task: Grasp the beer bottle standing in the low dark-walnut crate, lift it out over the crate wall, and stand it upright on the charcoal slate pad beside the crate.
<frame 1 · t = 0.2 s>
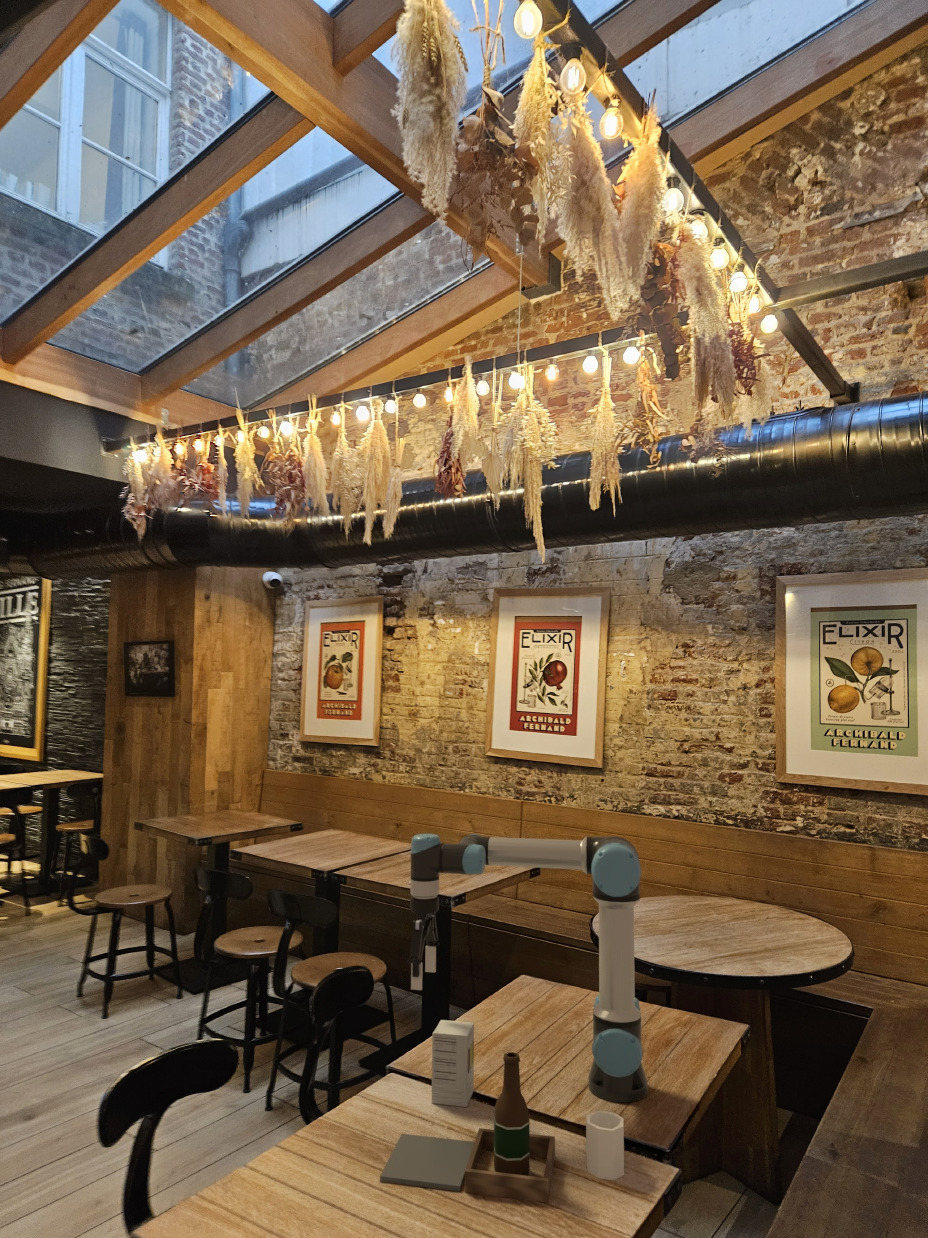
hand: (423, 980, 207), 28 cm above the table, fingers open, 13 cm apart
beer bottle: (511, 1174, 171), resting in walnut crate
supplement box: (452, 1098, 204), on the table
slate pad: (429, 1163, 174), on the table
mug: (608, 1165, 174), on the table
walnut crate: (511, 1173, 171), on the table
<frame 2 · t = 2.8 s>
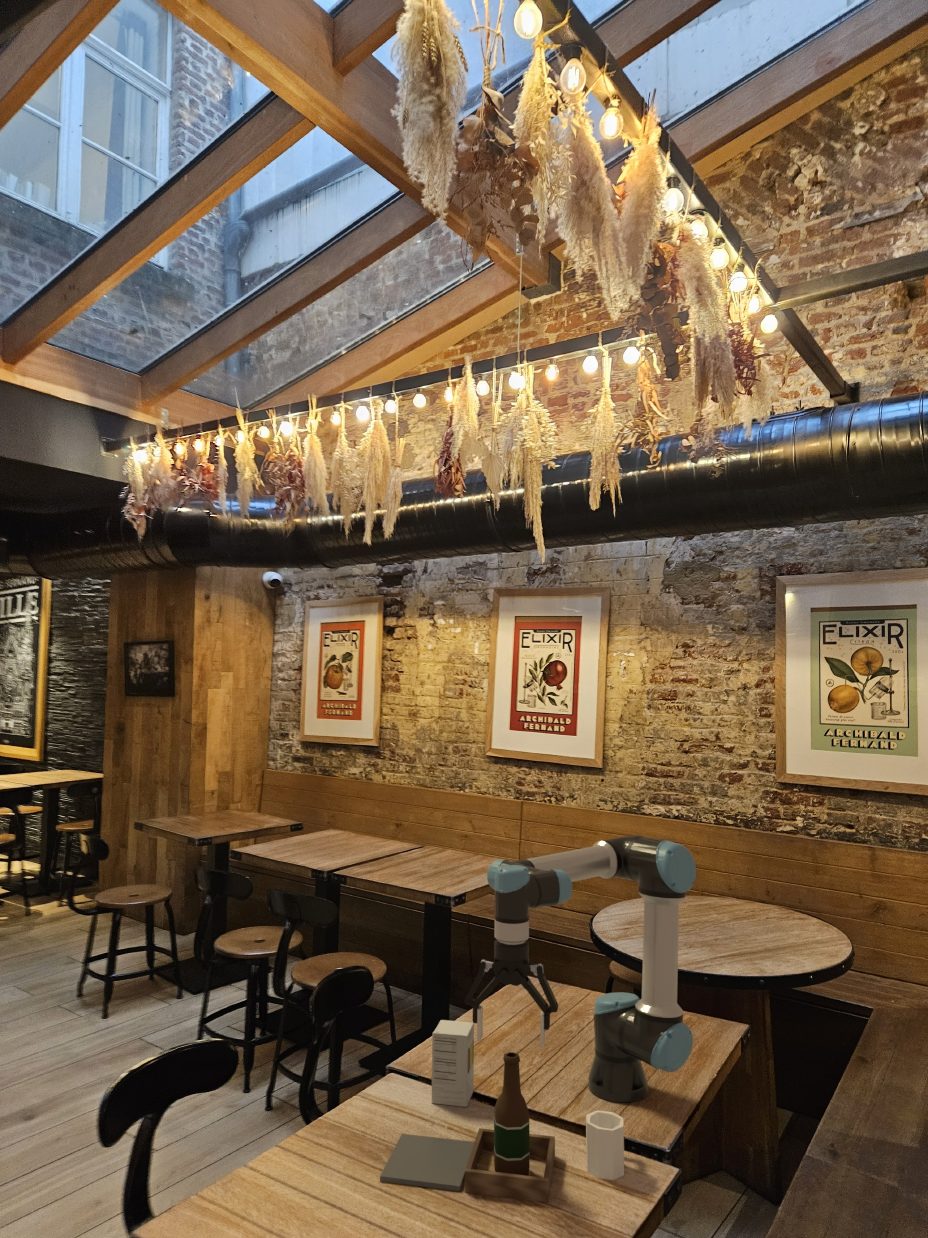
hand: (510, 1042, 173), 27 cm above the table, fingers open, 13 cm apart
nothing on the table moved.
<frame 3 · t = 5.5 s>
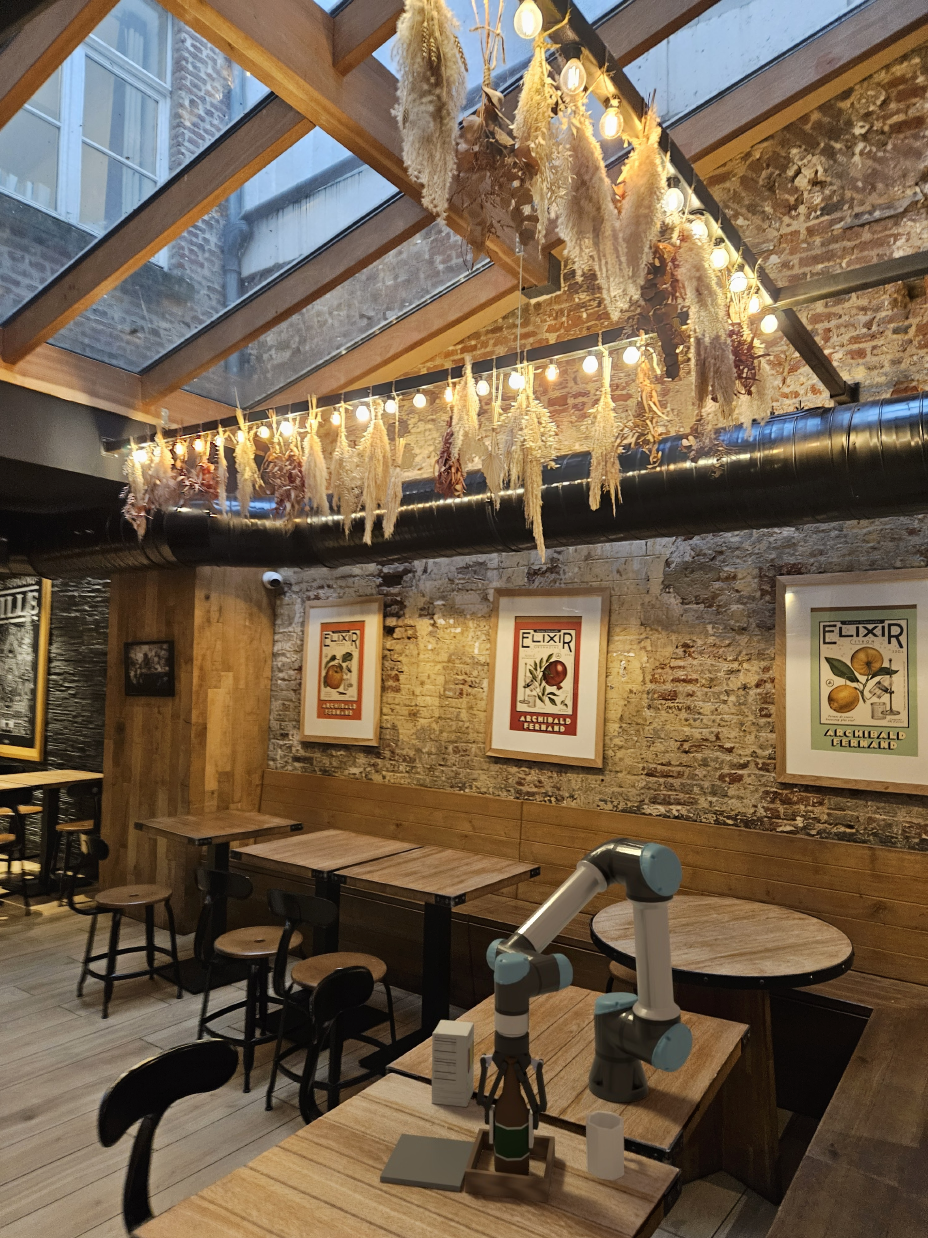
hand: (511, 1142, 171), 6 cm above the table, fingers closed on beer bottle, 8 cm apart
beer bottle: (511, 1174, 171), resting in walnut crate, touching gripper
everything else where it was.
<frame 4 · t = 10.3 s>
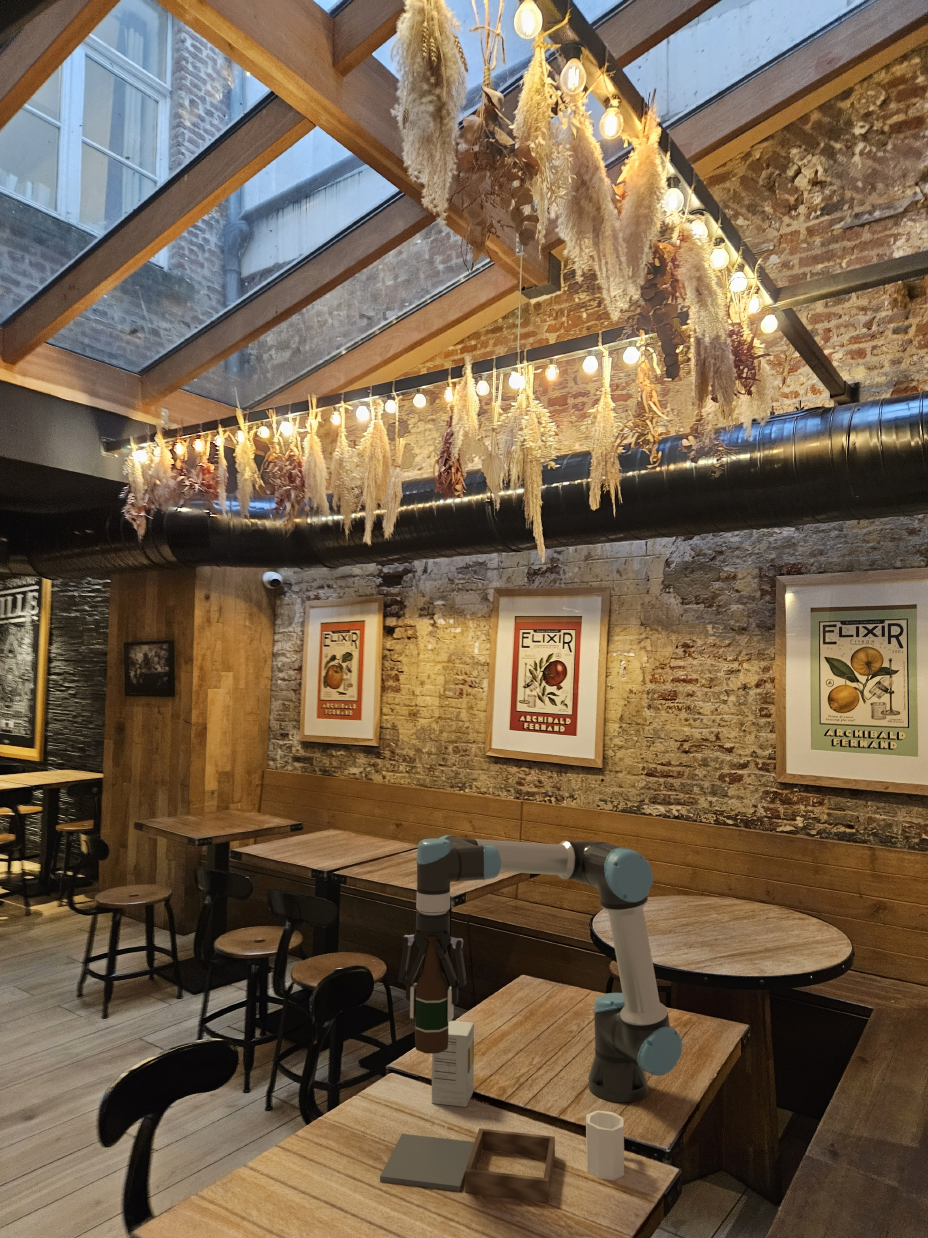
hand: (431, 1017, 177), 30 cm above the table, fingers closed on beer bottle, 8 cm apart
beer bottle: (431, 1048, 176), point 24 cm above the table, touching gripper
everything else where it was.
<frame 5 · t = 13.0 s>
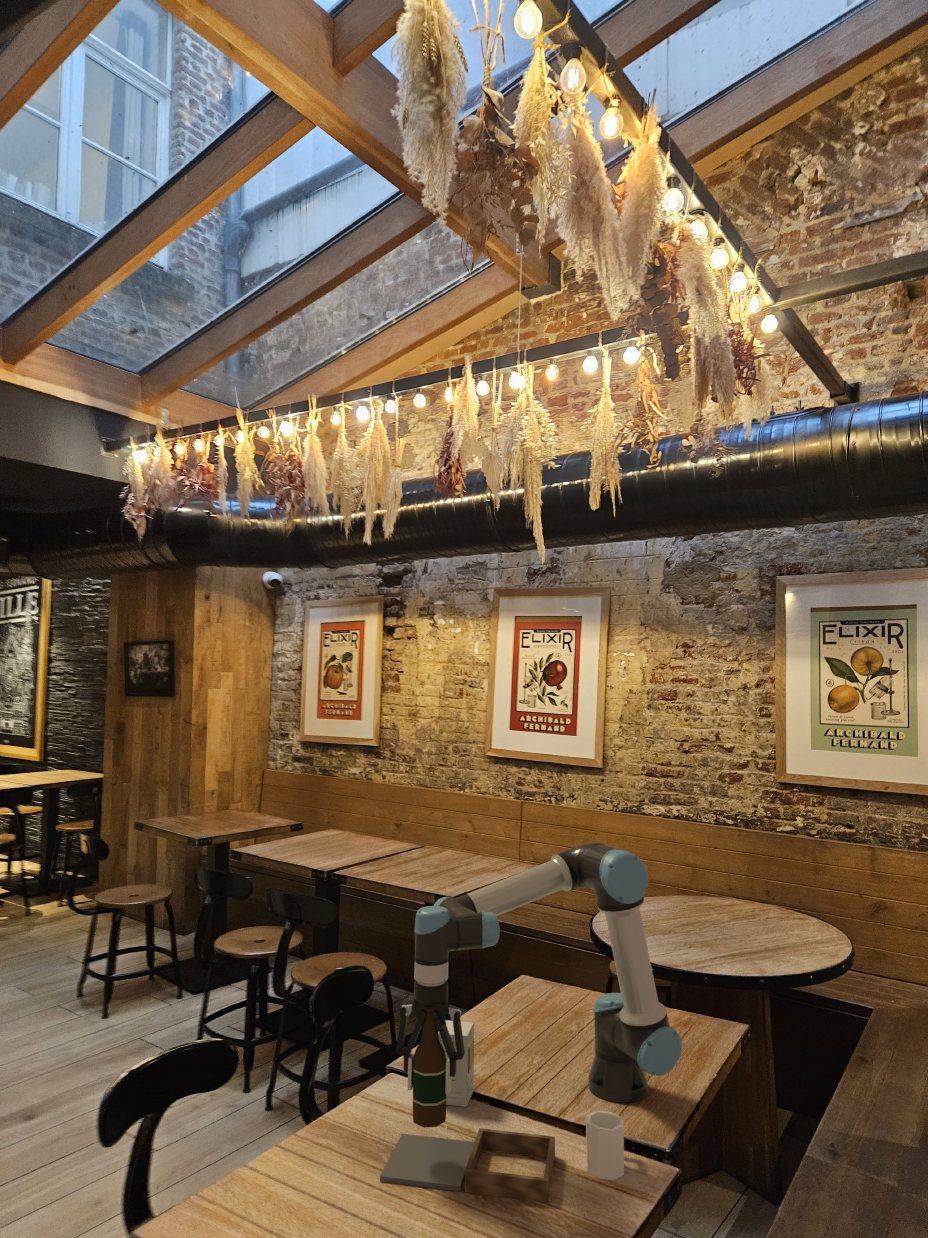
hand: (429, 1089, 176), 15 cm above the table, fingers closed on beer bottle, 8 cm apart
beer bottle: (429, 1120, 175), point 9 cm above the table, touching gripper
everything else where it was.
when the fingers open (9 cm above the table, at t = 15.2 s): beer bottle drops 2 cm, resting on slate pad.
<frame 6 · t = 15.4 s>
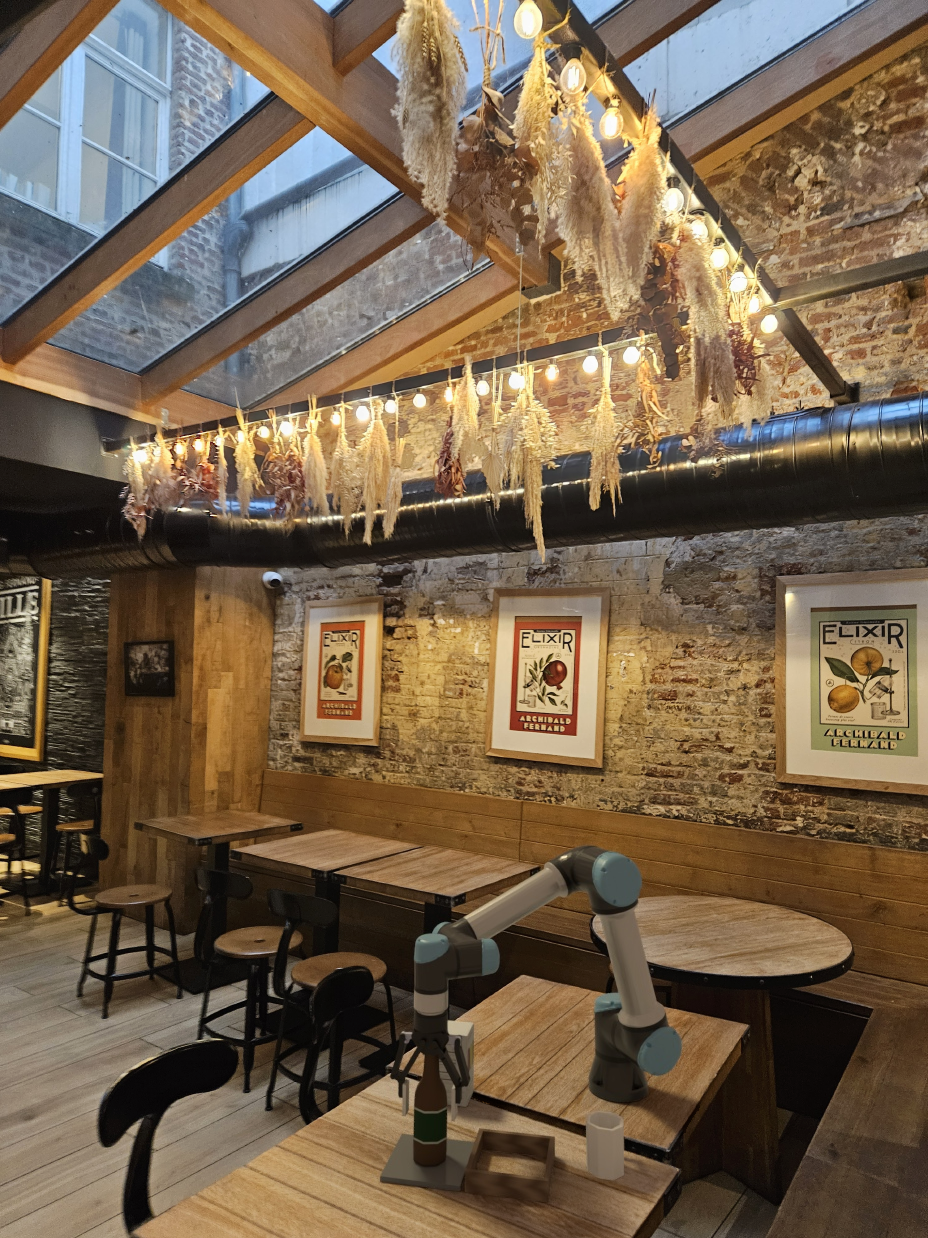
hand: (429, 1115, 175), 10 cm above the table, fingers open, 10 cm apart
beer bottle: (429, 1159, 174), point 1 cm above the table, touching slate pad
everything else where it was.
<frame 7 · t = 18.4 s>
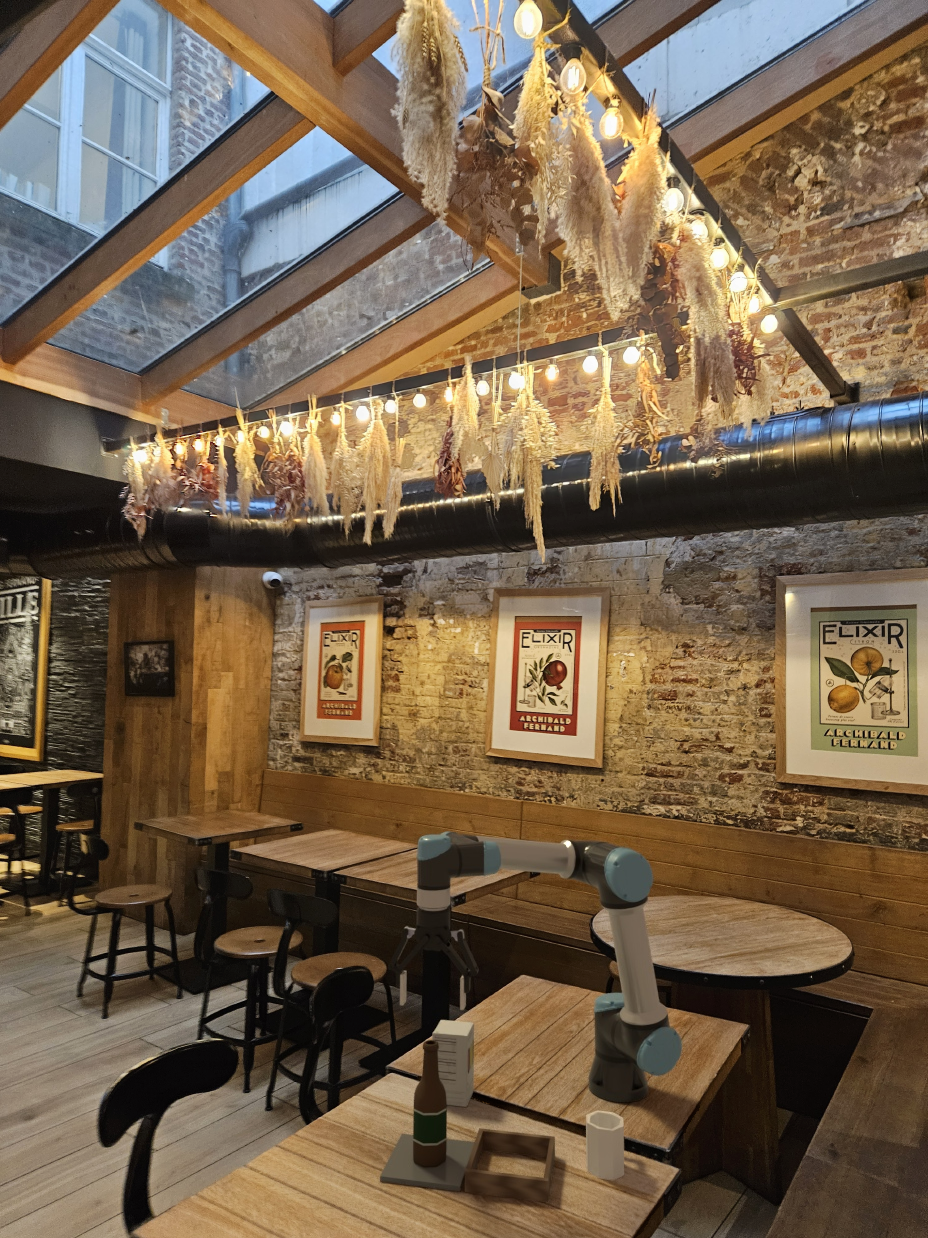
hand: (432, 1005, 178), 33 cm above the table, fingers open, 13 cm apart
nothing on the table moved.
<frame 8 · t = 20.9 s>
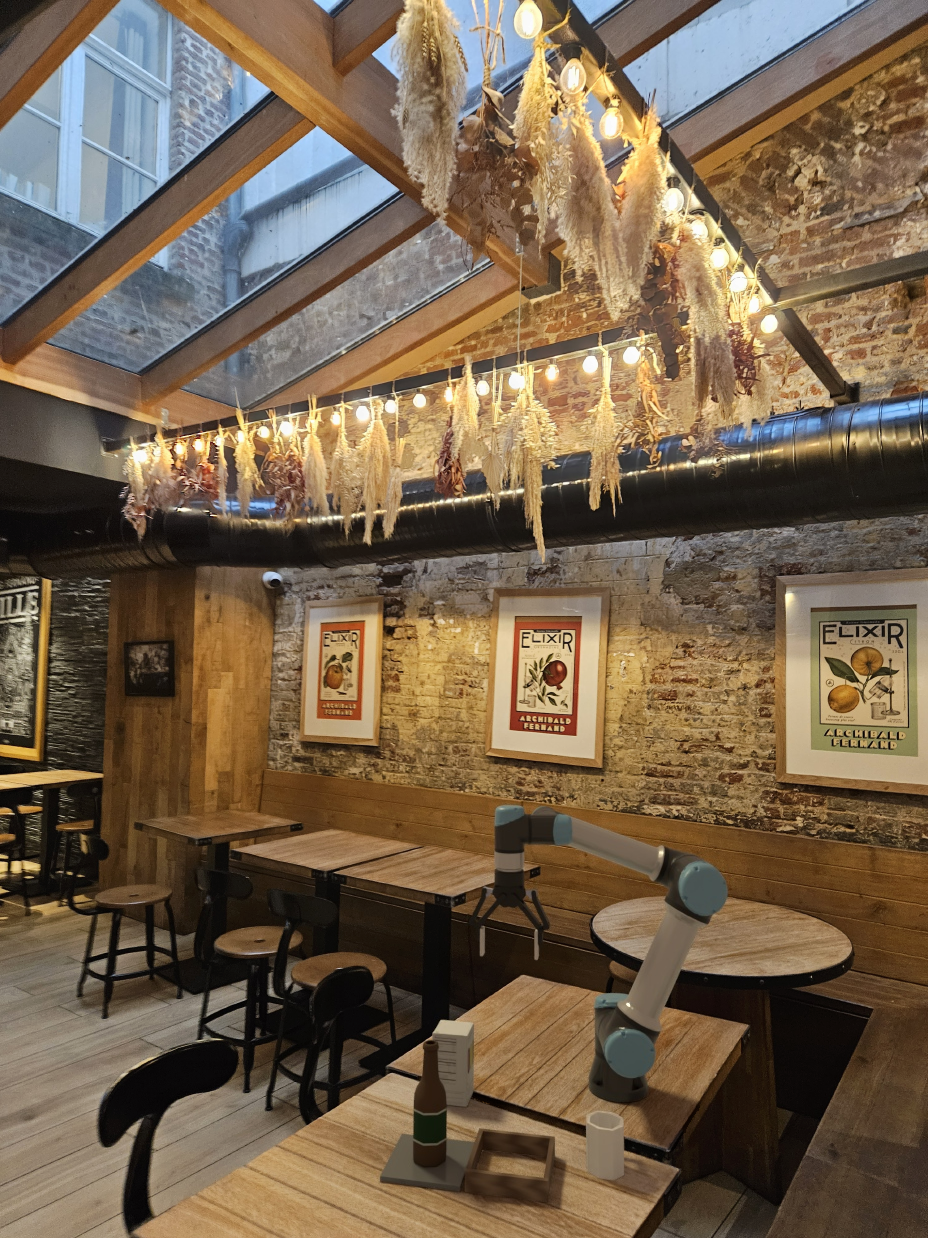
hand: (509, 956, 200), 37 cm above the table, fingers open, 13 cm apart
nothing on the table moved.
at the end: beer bottle inside the target area on the slate pad (0.1 cm from its centre), point 0.8 cm above the slate pad's base; beer bottle tilted 0°; the gripper is holding nothing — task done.
